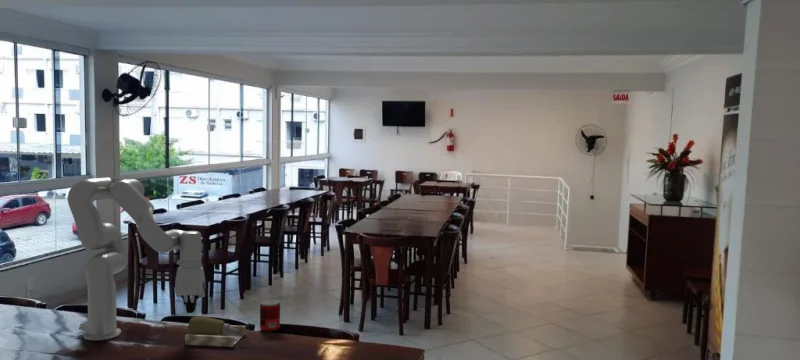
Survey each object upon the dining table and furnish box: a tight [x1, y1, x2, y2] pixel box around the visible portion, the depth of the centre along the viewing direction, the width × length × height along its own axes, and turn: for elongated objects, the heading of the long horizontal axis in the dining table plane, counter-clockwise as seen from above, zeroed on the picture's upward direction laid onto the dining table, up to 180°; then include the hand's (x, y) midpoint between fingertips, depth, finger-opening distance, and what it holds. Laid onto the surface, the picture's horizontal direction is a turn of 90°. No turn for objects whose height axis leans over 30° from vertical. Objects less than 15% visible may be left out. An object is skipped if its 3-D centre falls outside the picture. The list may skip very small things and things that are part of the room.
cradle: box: [184, 324, 247, 348], centre depth 206 cm, size 18×13×4 cm
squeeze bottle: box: [187, 315, 238, 336], centre depth 207 cm, size 8×8×18 cm
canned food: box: [259, 298, 281, 333], centre depth 220 cm, size 8×8×11 cm
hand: (190, 312), depth 206 cm, fingers closed
